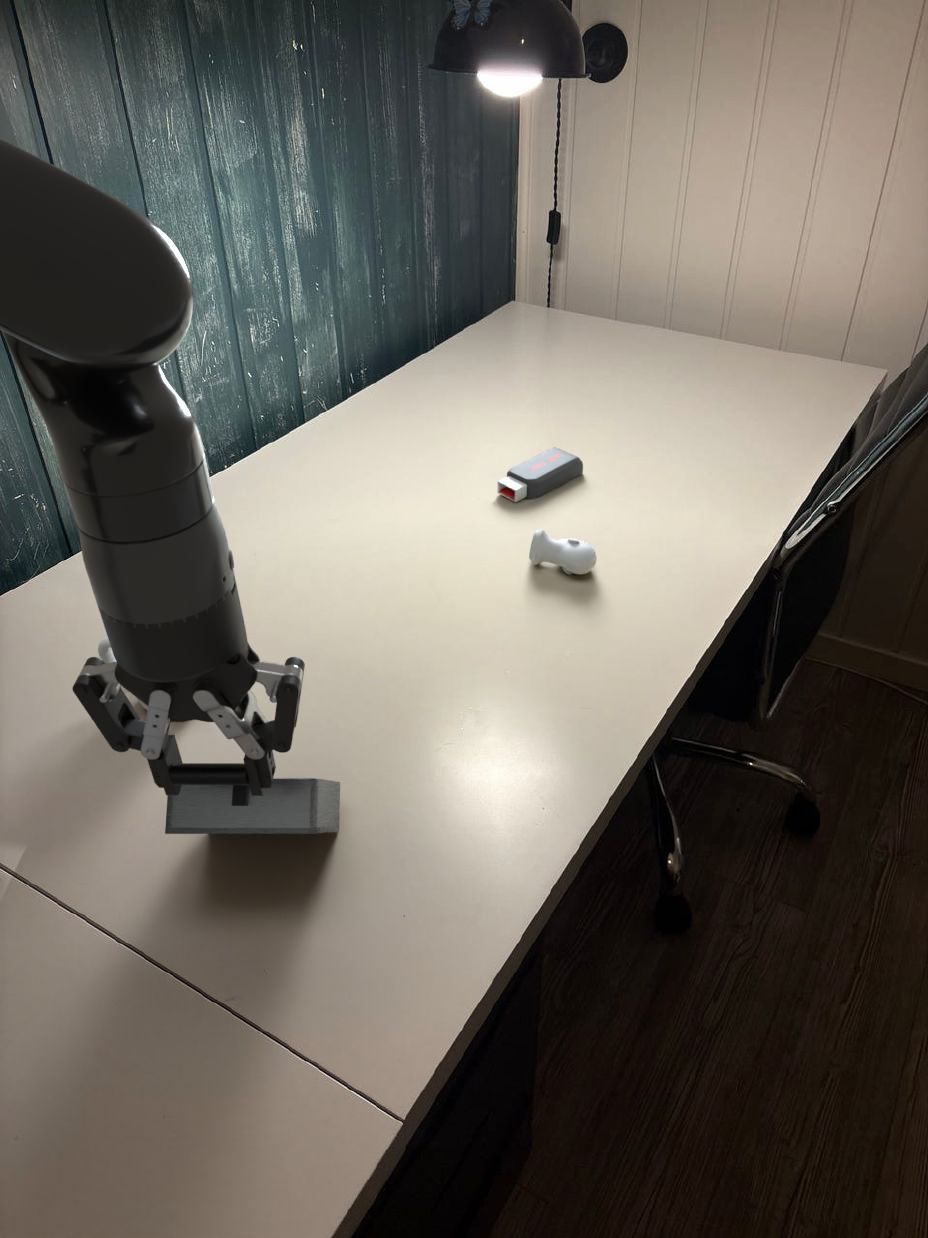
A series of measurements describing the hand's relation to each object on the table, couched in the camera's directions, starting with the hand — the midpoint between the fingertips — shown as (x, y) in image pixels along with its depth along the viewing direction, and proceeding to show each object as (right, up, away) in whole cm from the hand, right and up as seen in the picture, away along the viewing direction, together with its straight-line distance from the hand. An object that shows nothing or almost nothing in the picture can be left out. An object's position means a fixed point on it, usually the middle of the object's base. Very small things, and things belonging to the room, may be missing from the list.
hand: (218, 785), depth 61 cm
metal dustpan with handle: (0, -5, +6) cm, 8 cm away
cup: (-13, +3, +29) cm, 32 cm away
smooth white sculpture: (+28, +17, +46) cm, 56 cm away
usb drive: (+26, +29, +61) cm, 72 cm away
